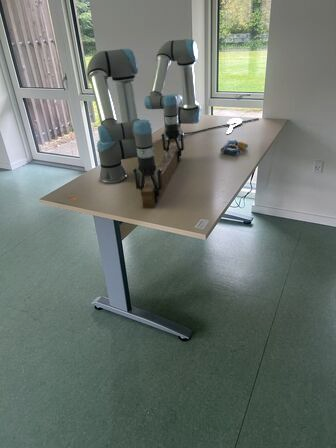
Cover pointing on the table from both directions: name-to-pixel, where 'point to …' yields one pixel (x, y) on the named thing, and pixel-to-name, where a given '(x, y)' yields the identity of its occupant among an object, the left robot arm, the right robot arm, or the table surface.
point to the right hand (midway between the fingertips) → (174, 161)
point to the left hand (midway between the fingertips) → (151, 201)
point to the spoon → (233, 124)
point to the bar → (167, 167)
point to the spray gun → (233, 147)
